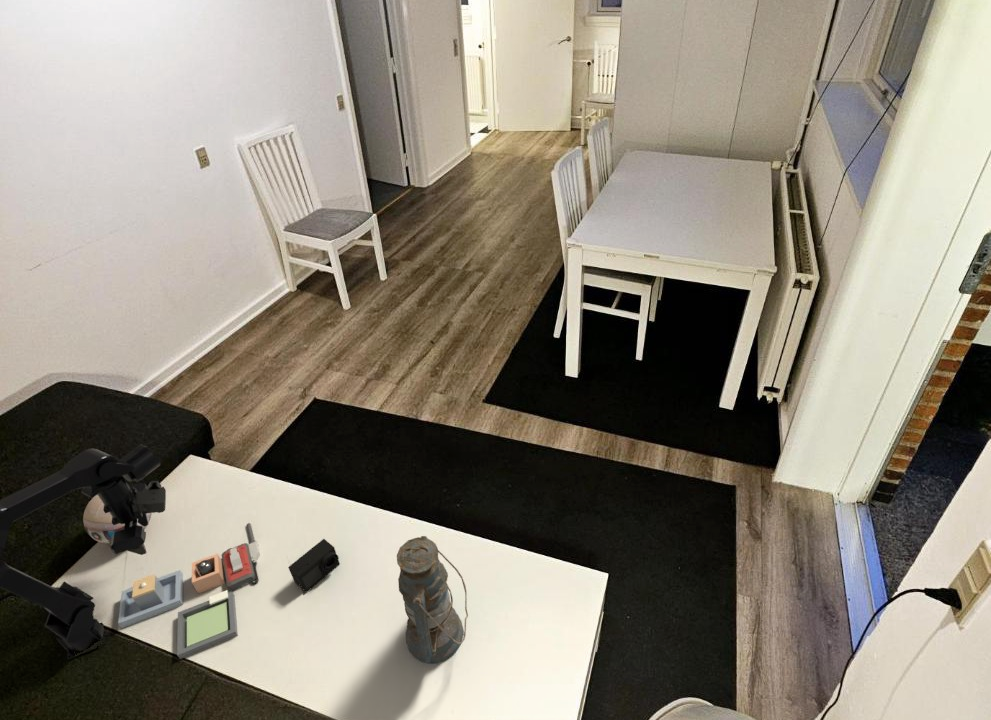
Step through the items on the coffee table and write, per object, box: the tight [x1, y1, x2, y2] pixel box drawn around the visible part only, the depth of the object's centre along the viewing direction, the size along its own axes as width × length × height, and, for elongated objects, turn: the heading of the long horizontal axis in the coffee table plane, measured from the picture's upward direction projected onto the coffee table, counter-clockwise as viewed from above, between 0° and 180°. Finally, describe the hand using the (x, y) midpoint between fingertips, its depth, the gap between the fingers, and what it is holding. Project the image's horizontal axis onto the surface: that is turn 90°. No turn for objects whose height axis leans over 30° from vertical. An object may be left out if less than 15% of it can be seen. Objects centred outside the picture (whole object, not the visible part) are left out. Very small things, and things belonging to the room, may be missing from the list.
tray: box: [117, 569, 184, 629], centre depth 135 cm, size 13×9×2 cm
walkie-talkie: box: [221, 522, 261, 592], centre depth 143 cm, size 9×4×20 cm
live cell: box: [132, 573, 164, 611], centre depth 134 cm, size 4×4×6 cm
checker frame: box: [176, 589, 239, 660], centre depth 129 cm, size 12×12×3 cm
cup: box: [191, 553, 226, 594], centre depth 138 cm, size 6×6×5 cm
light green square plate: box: [186, 602, 230, 647], centre depth 129 cm, size 9×8×1 cm
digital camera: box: [288, 538, 341, 594], centre depth 137 cm, size 10×5×7 cm, turn 140°
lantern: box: [396, 535, 469, 664], centre depth 117 cm, size 19×14×30 cm
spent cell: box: [197, 560, 215, 576], centre depth 138 cm, size 3×3×6 cm
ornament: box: [82, 495, 152, 545], centre depth 149 cm, size 15×15×15 cm
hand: (145, 539), depth 136 cm, fingers open, 9 cm apart
